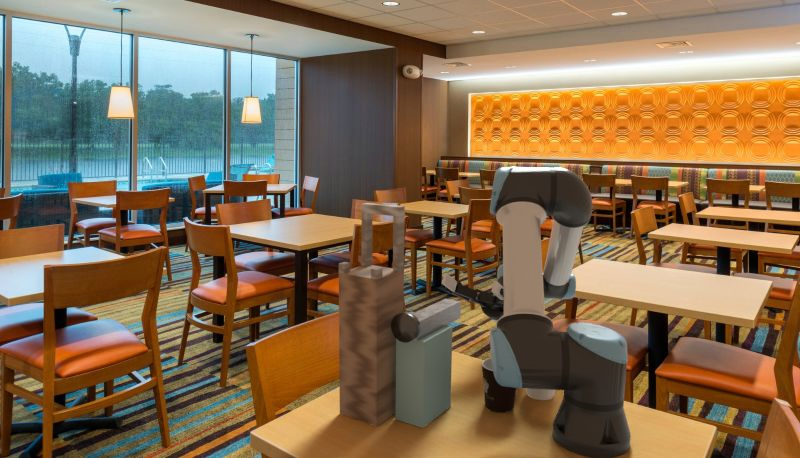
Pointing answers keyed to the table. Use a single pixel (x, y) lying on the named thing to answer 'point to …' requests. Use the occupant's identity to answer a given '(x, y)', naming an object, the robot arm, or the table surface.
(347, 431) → the table surface
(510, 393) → the coffee mug
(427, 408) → the teal pedestal
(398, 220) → the walnut stand
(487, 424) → the table surface
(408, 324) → the grey elongated piece
